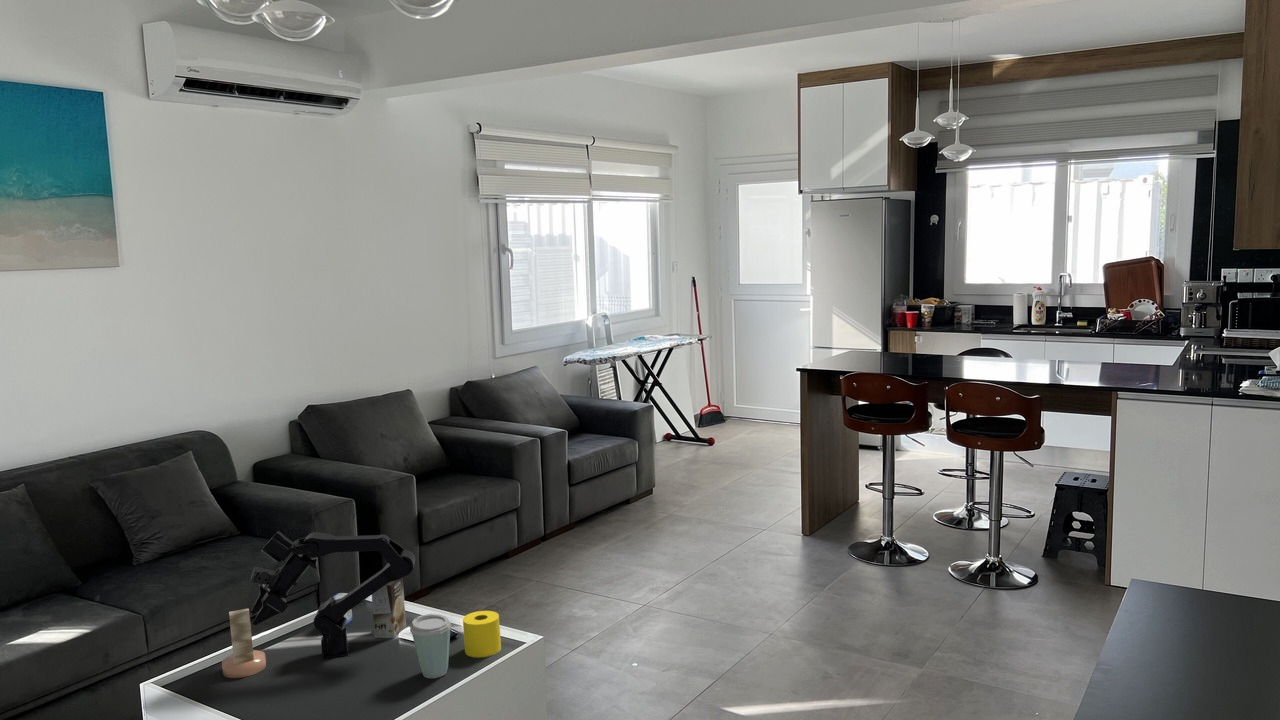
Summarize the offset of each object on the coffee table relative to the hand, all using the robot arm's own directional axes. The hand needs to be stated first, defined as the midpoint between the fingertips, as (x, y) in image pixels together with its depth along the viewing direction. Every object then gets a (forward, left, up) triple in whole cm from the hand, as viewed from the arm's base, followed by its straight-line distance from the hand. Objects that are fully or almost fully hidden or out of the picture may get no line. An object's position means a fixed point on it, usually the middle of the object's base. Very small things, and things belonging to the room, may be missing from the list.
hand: (252, 618), depth 260 cm
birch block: (+3, +1, -11) cm, 11 cm away
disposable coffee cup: (-47, +23, -14) cm, 54 cm away
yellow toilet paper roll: (-61, +12, -14) cm, 64 cm away
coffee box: (-36, -11, -14) cm, 40 cm away
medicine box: (-21, -23, -14) cm, 34 cm away
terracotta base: (+3, +1, -14) cm, 14 cm away
